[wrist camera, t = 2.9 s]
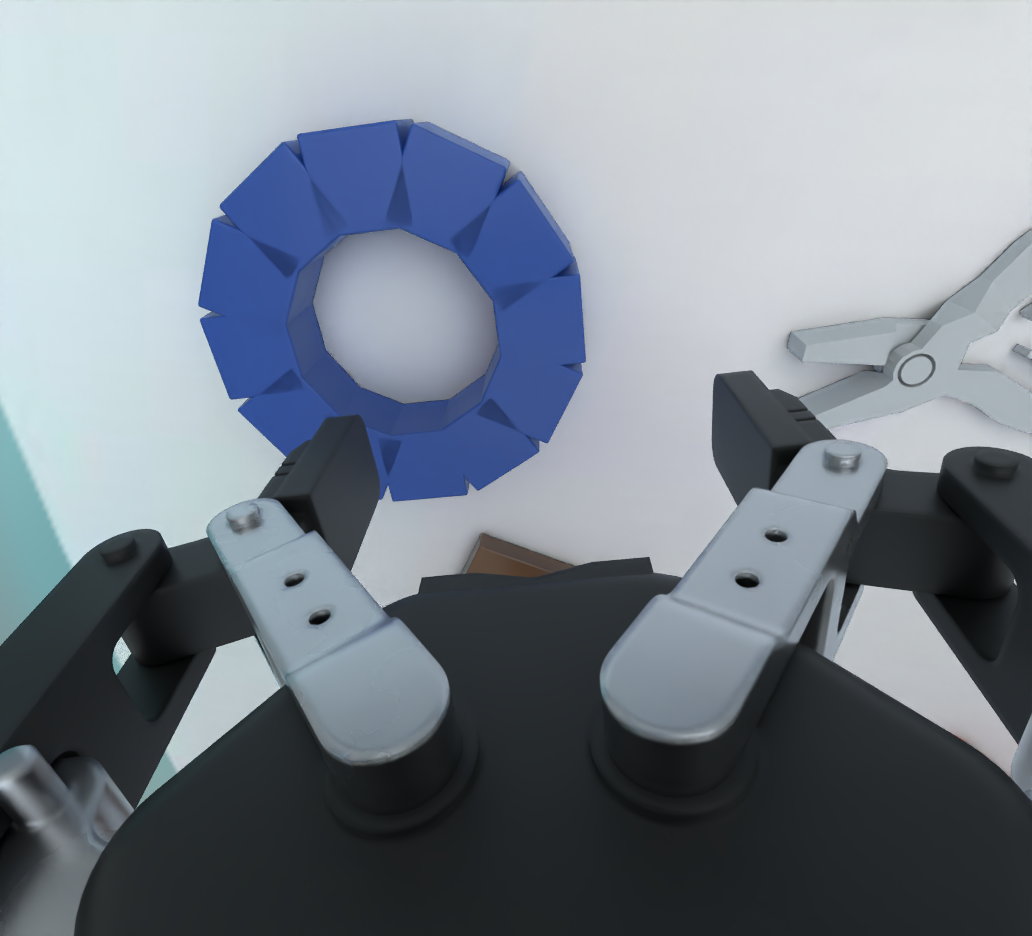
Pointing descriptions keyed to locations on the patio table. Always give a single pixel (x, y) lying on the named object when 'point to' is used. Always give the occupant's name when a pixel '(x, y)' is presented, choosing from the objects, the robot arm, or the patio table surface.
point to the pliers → (926, 353)
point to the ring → (431, 216)
